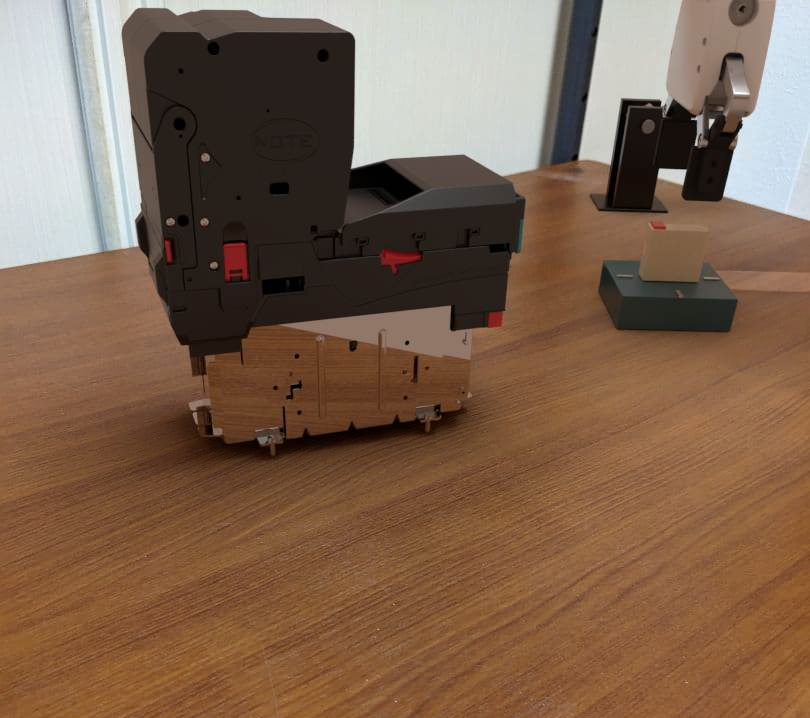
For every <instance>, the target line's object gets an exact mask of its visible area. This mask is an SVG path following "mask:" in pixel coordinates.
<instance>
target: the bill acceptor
mask: <svg viewBox="0 0 810 718" xmlns="http://www.w3.org/2000/svg"><path fill="white" fill-rule="evenodd" d="M121 27H122V28H121V32H120V33H121V42H122V52H123V57H124V65H125V72H126V81H127V91H128V97H129V108H130V120H131V127H132V128H131V129H132V137H133V146H134V153H135V161H136V171H137V178H138V179H137V180H138V185H139V186H138V188H139V191H140V201H141V202H140V203H139V204H140V205H139V206H140V212H139V213H138V214H137V217H136V218H135V219H134V224H135V226H134V227H135V233H136V239H137V245H138V248H139V250H140V252H142V253H143V254H144V255H145V257H146V258H147V267H148V272H149V275H150V278H151V280H152V282H153V285H154V288H155V290H156V292H157V295H158V297H159V301H160V303H161V305H162V307H163V310H164V313H165V314H166V317H167V319H168V322H169V324H170V327H171V329H172V331H173V333H174V335H175V338H176V339H177V341H178V343H179V345H180V346H182V347H184V346H187V347H188V355H189V359H190V360H189V361H190V369H191V376H192V378H196V377H199V383H200V388H201V392H202V395H203V398H202V399H199V400H193V401H191V402H189V403H188V407H189V411H190V412H192V419H193V421H194V423H195V425H196V427H197V431H198V434H199V436H200V437H202V438H208V437H209V438H211V437H213V438H215V437H220V439H221V440H222V441H223V443H224V444H226V445H230V444H232V445H233V444H238V443H239V444H240V443H244V442H251V441H255V439H256V441H257V443H258V445H259V446H260V447H269V455H270V456H272V457H273V456H276V455H277V450H276V449H277V448H276V445H281V444H284V439H286V440H292V439H300V438H302V437H303V435H304V433H305V434H306V435H308V436H310V437H312V436H320V435H326V434H334V433H339V432H341V433H342V432H347V431H349V429H350V428H351V427H352V428H354V429H355V430H360V429H361V430H362V429H367V428H375V427H381V426H387V425H392V424H393V423H394V421H397V422H399V423H407V422H413V421H415V420H416V419H417V420H418V421H419V423H424V432H427V433H429V432H431V421H440V420H442V415H441V414H442V413H449V412H455V411H460V410H461V406H463V405H464V404H466V402H468V400H470V399H473V395H472V393H471V392H470V390H469V389H470V376H471V366H472V365H471V363H472V362H471V361H472V350H473V335H474V329H481V328H483V329H485V328H487V329H491V328H498V327H502V325H503V318H504V317H503V315H504V312H506V304H507V294H508V281H509V272H510V265H511V264H510V263H511V260H512V259H513V258H512V257H513V253H515V254H520V253H521V251H522V243H523V231H524V221H525V215H526V214H525V213H526V205H527V204H526V202H527V198H526V197H525V196H523V195H522V194H520V193H519V192H517V191H516V190H515V186H514V182H512V181H511V180H509V179H507V178H506V177H504V176H502V175H501V174H499V173H497V172H495V171H494V170H492V169H490V168H488V167H487V166H485V165H483V164H481V163H479V162H478V161H477V160H475V159H473V158H471V157H470V156H467V154H449V155H447V154H445V155H432V156H431V155H429V156H416V157H415V156H414V157H413V156H412V157H411V156H410V157H397V158H395V157H394V158H387V159H384V160H379V161H376V162H372V163H368V164H363V165H359V166H357V167H352V165H353V159H354V153H355V152H354V151H355V115H356V113H355V112H356V111H355V110H356V109H355V108H356V107H355V105H356V101H355V100H356V38H355V36H354V34H353V33H352V32H350V31H348V30H345V29H343V28H341V27H339V26H336V25H334V24H333V23H330V22H328V21H325V20H323V19H321V18H311V17H309V18H307V17H306V18H305V17H300V18H299V17H270V16H269V17H268V16H262V15H259V14H256V13H254V12H252V11H250V10H248V9H199V10H196V11H193V10H192V11H188V12H185V13H181V14H178V15H177V14H176V13H174V12H173V11H172V10H171V9H169V8H166V7H138V8H136V9H134V11H133V12H132V13H131V15H130V16H129V17H128V18H127V20H126V21H125V22H124V23H123V25H122V26H121Z"/></svg>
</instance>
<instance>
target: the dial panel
mask: <svg viewBox="0 0 810 718" xmlns="http://www.w3.org/2000/svg"><path fill="white" fill-rule="evenodd" d="M640 262H641V260H625V259H624V260H619V259H603V260H602V265H601V266H602V267H601V273H600V277H599V284H598V293H599V295H600V297H601V298H602V301H603V303H604V304H605V307H606V309H607V312H608V313H609V315H610V317H611V319H612V321H613V323H614V326H615V328H616V329H618V330H649V331H650V330H651V331H652V330H653V331H688V332H689V331H691V332H725V333H730V332H731V330H732V326H733V321H734V318H735V313H736V309H737V305H738V301H739V298H738V297H737V296H736V294H735V293H734V292H733V291H732V290H731V288H730V287H729V286H728V284H727V283H726V282H725V280H723V279H722V277H721V276H720V274H719V273H718V272H717V270H715V268H714V267H713V266H712V264H711V263H710V262H703V264H702V269H701V273H700V277H699V282H674V281H643V280H642V278H641V277H640V275H639V268H640Z"/></svg>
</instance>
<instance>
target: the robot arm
mask: <svg viewBox="0 0 810 718" xmlns="http://www.w3.org/2000/svg"><path fill="white" fill-rule="evenodd" d="M776 6H777V0H681V4H680V8H679V11H678V16H677V21H676V25H675V26H676V27H675V30H674V35H673V39H672V44H671V50H670V54H669V61H668V67H667V73H666V81H665V87H666V92H667V94H668V95H667V97H666V99H665V102H664V107H663V117H664V118H662V119H661V125H660V130H659V135H658V140H657V145H656V151H655V156H654V161H653V165H654V166H655V167H656V168H658V169H659V170H660V169H661V170H683V171H685V174H684V179H683V183H682V189H681V193H680V194H681V197H682V199H683V200H684V201H690V202H707V203H709V202H711V203H719V202H721V201H722V200H723V197H724V194H725V190H726V187H727V182H728V177H729V173H730V169H731V165H732V161H733V157H734V153H735V150H736V148H737V146H738V143H739V142H738V141H739V133H740V131H741V130H742V129H743V127H744V123H743V122H744V120H743V118H748V117H749V116H751V115H752V114H753V113H754V112H755V110H756V107H757V103H758V99H759V94H760V90H761V86H762V80H763V75H764V70H765V65H766V61H767V57H768V50H769V45H770V40H771V35H772V29H773V24H774V18H775V14H776V13H775V12H776ZM667 118H669V119H667ZM710 120H713V122H712V124H711V125H710Z"/></svg>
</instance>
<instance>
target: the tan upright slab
mask: <svg viewBox="0 0 810 718" xmlns="http://www.w3.org/2000/svg"><path fill="white" fill-rule="evenodd" d="M710 233H711V231H710V230H709V229H708V227H706V225H705V224H686V223H684V224H683V223H682V224H681V223H664V221H662V220H650V223H649V222H647V226H646V231H645V236H644V242H643V245H642V246H643V247H642V253H641V258H640V261H641V262H640V268H639V275H640V277H641V278H642V280H643V281H674V282H699V277H700V273H701V269H702V264H703V263H704V260H705V255H706V250H707V248H708V247H707V246H708V243H709V237H710Z"/></svg>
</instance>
